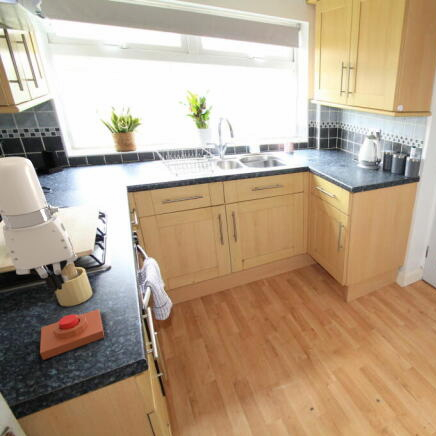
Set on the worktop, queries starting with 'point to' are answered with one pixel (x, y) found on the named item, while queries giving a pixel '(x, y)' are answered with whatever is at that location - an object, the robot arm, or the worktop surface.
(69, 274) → the sprinkles bottle
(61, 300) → the cup
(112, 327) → the worktop surface
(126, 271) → the worktop surface
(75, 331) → the panel
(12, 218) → the robot arm
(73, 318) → the button
